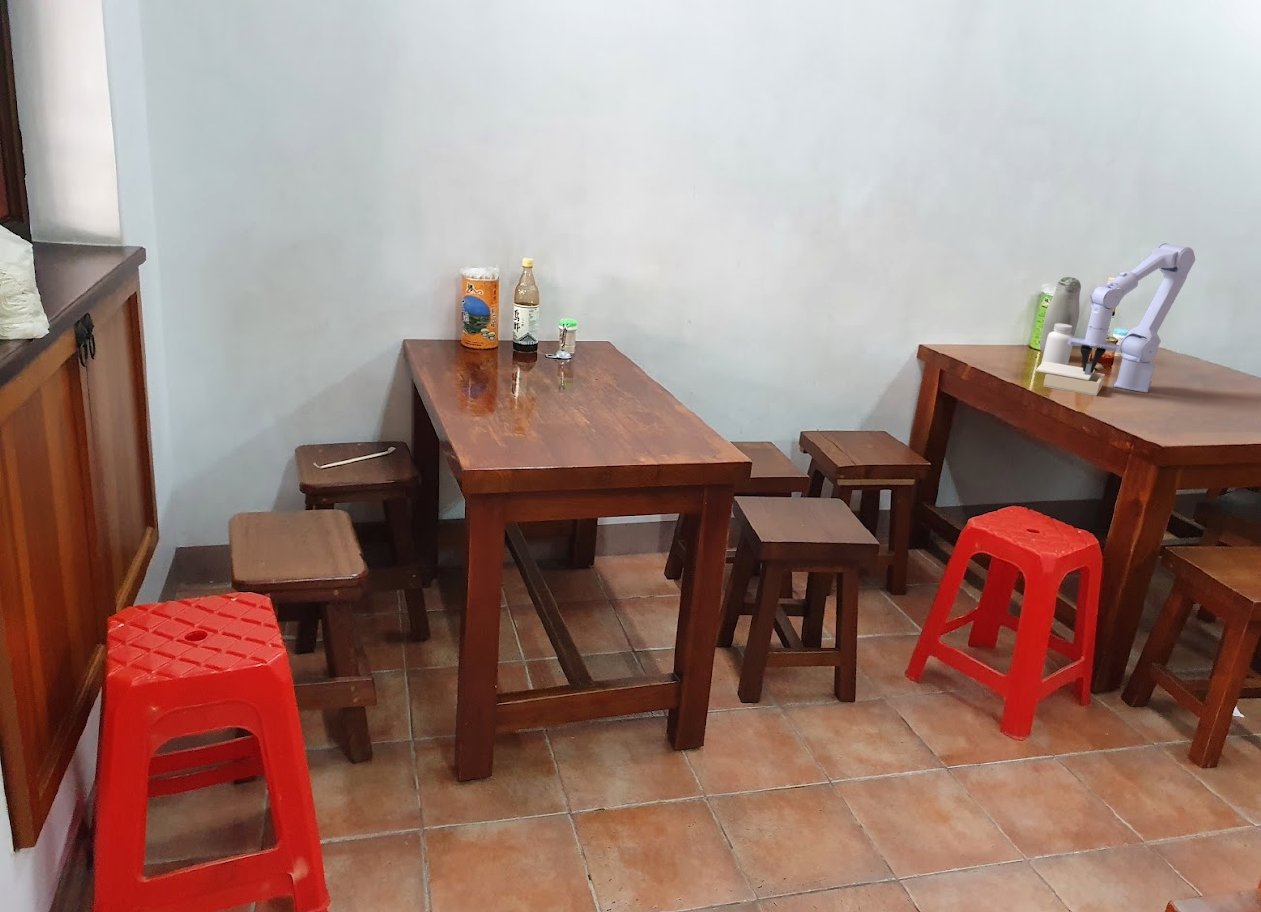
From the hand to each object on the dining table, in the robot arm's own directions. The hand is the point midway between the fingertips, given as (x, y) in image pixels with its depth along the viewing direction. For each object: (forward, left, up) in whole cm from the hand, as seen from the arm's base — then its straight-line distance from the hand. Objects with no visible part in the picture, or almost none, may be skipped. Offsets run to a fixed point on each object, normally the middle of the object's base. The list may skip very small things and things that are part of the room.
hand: (1088, 371), depth 290 cm
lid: (+6, 0, -1) cm, 6 cm away
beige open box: (+3, 0, -5) cm, 6 cm away
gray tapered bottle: (+15, -37, -6) cm, 40 cm away
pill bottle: (+12, -19, -6) cm, 23 cm away
